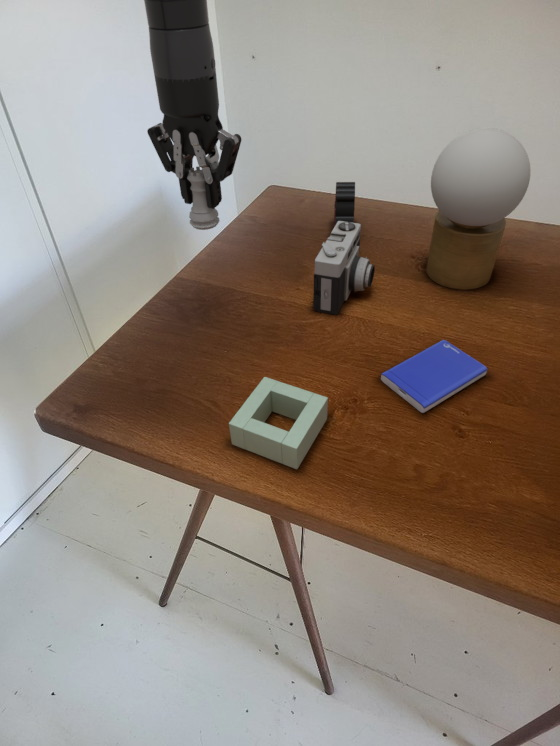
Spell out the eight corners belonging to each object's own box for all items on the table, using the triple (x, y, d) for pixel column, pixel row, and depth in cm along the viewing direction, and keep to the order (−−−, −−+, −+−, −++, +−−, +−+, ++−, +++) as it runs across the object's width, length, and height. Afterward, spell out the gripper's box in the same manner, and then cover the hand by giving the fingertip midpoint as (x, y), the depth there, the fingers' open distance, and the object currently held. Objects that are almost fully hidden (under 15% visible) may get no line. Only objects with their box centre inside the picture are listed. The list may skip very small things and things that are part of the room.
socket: (231, 444, 66) (228, 423, 63) (266, 397, 72) (264, 376, 69) (297, 470, 62) (296, 448, 60) (327, 418, 68) (328, 397, 66)
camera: (360, 320, 84) (364, 265, 77) (311, 311, 86) (311, 257, 79) (378, 275, 93) (384, 223, 86) (334, 268, 96) (336, 217, 89)
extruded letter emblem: (352, 260, 97) (356, 203, 90) (334, 260, 98) (336, 203, 90) (350, 216, 110) (353, 163, 103) (334, 216, 111) (336, 164, 103)
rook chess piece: (193, 216, 79) (185, 163, 73) (222, 217, 78) (216, 163, 73) (187, 230, 75) (178, 176, 70) (217, 231, 75) (210, 176, 70)
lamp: (494, 309, 84) (541, 152, 67) (407, 294, 89) (431, 142, 72) (502, 263, 95) (544, 116, 78) (424, 251, 99) (448, 109, 82)
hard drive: (443, 338, 77) (381, 372, 72) (488, 367, 72) (424, 406, 67) (441, 346, 78) (380, 380, 73) (485, 375, 73) (423, 414, 68)
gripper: (119, 71, 63) (147, 206, 75) (218, 81, 58) (231, 224, 70) (155, 58, 68) (176, 186, 80) (250, 66, 63) (257, 202, 75)
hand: (202, 203), depth 75 cm, fingers closed on rook chess piece, 3 cm apart
